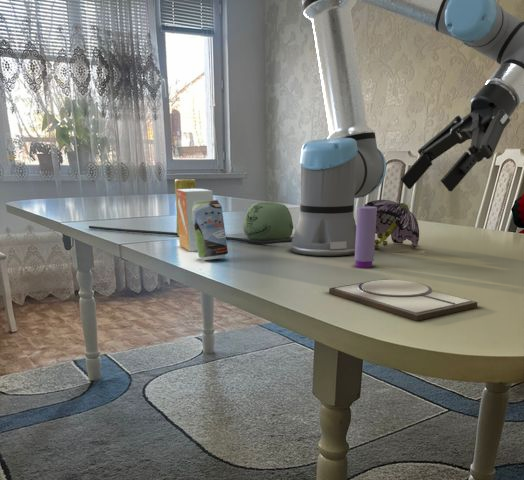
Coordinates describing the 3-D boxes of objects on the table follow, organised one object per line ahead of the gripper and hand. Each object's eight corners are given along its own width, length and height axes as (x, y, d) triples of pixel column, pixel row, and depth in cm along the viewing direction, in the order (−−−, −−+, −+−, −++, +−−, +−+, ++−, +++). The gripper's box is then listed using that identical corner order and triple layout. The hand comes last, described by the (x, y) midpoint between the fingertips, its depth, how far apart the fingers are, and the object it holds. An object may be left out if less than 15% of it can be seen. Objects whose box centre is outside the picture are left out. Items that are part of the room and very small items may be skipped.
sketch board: (328, 293, 84) (329, 286, 84) (391, 282, 91) (392, 275, 90) (417, 321, 70) (417, 312, 69) (484, 305, 77) (485, 298, 76)
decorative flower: (443, 205, 116) (377, 184, 114) (427, 258, 116) (361, 238, 115) (418, 217, 130) (360, 199, 129) (404, 264, 131) (346, 246, 129)
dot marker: (350, 265, 104) (353, 207, 101) (364, 263, 106) (367, 206, 103) (363, 268, 102) (366, 208, 98) (377, 266, 103) (381, 207, 100)
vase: (180, 233, 148) (176, 179, 144) (201, 234, 148) (199, 179, 143) (173, 237, 143) (170, 180, 138) (196, 237, 142) (193, 180, 137)
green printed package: (216, 263, 107) (214, 201, 103) (187, 260, 111) (184, 199, 107) (234, 258, 112) (233, 198, 108) (206, 255, 116) (203, 197, 112)
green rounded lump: (303, 239, 137) (304, 203, 135) (260, 243, 131) (259, 206, 128) (269, 232, 150) (269, 199, 147) (228, 235, 144) (227, 202, 141)
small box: (179, 246, 128) (175, 189, 124) (205, 244, 130) (202, 188, 126) (188, 251, 121) (185, 191, 117) (215, 249, 123) (213, 190, 119)
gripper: (562, 105, 91) (478, 202, 92) (468, 118, 114) (401, 196, 115) (540, 70, 88) (453, 170, 89) (448, 90, 111) (380, 170, 112)
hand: (424, 185), depth 102 cm, fingers open, 13 cm apart
